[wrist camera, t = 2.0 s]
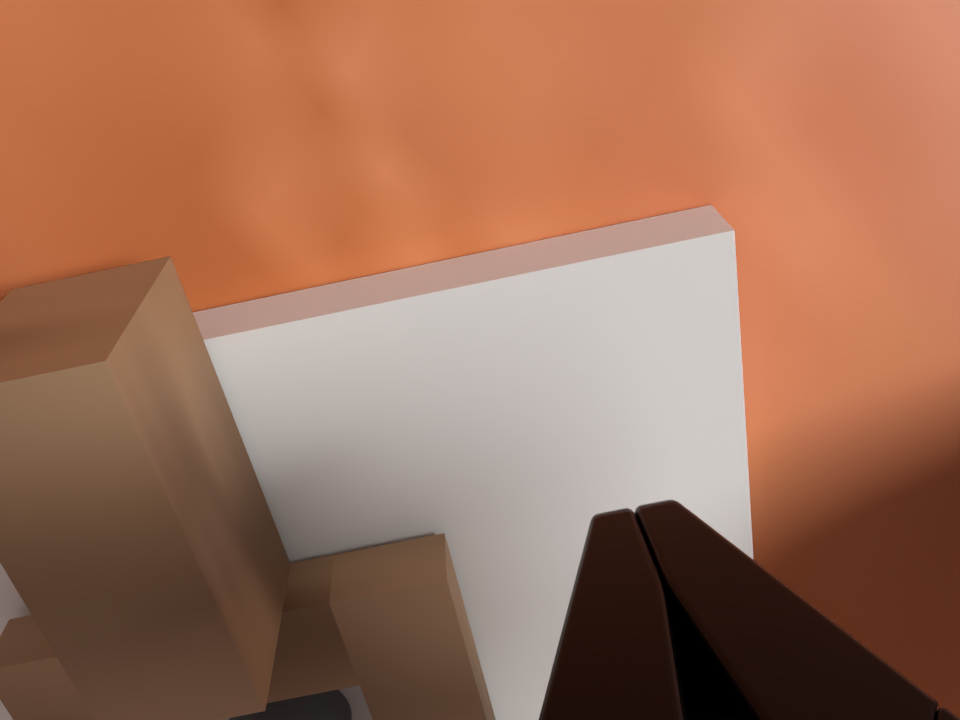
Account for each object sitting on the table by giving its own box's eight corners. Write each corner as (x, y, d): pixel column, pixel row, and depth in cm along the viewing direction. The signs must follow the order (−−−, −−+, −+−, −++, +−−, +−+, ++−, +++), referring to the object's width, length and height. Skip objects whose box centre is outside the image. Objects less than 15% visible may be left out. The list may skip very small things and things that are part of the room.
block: (520, 810, 20) (539, 966, 17) (168, 876, 20) (128, 1041, 17) (357, 217, 13) (344, 311, 10) (-171, 327, 13) (-327, 451, 10)
